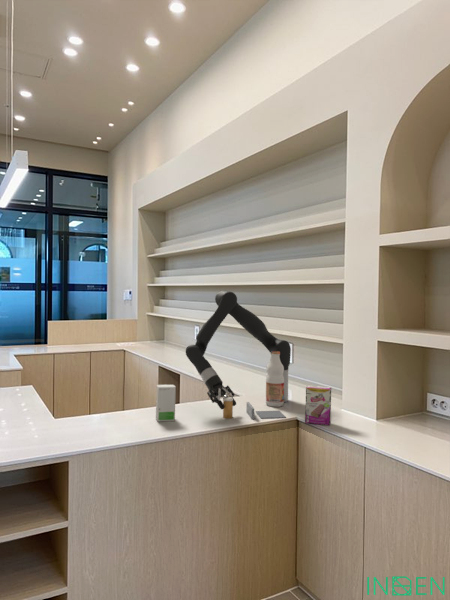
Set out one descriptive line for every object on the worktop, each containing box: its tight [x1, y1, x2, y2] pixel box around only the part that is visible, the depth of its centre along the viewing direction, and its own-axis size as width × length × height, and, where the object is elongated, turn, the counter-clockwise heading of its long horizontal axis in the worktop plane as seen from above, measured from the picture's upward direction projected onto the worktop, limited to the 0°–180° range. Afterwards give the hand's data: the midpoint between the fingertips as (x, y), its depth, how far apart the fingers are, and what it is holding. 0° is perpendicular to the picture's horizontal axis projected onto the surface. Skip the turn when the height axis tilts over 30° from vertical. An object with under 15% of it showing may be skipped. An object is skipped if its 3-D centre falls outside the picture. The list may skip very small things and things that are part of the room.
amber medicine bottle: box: [222, 396, 234, 419], centre depth 209 cm, size 5×5×9 cm
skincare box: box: [155, 384, 177, 422], centre depth 204 cm, size 8×7×16 cm
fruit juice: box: [265, 351, 285, 408], centre depth 233 cm, size 9×9×28 cm
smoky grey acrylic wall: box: [245, 401, 255, 421], centre depth 212 cm, size 13×1×5 cm, turn 8°
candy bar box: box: [304, 385, 332, 426], centre depth 200 cm, size 11×5×16 cm, turn 74°
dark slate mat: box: [255, 410, 287, 420], centre depth 214 cm, size 12×12×1 cm
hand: (229, 406), depth 208 cm, fingers open, 8 cm apart
